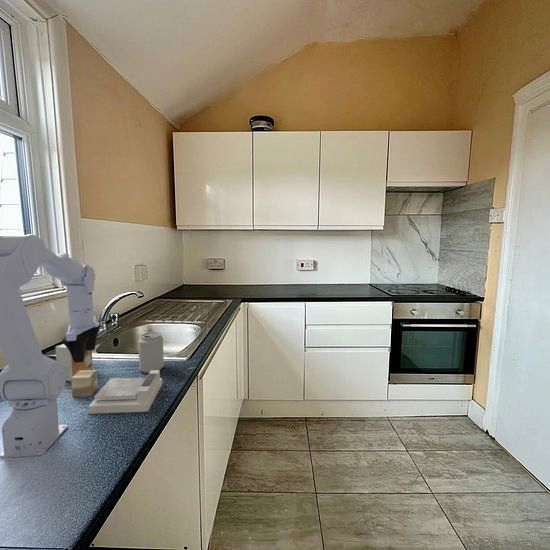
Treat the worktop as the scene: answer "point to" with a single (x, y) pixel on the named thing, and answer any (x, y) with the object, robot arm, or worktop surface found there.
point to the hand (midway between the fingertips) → (84, 355)
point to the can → (150, 352)
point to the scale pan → (120, 389)
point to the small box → (67, 361)
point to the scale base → (139, 404)
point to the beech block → (84, 383)
